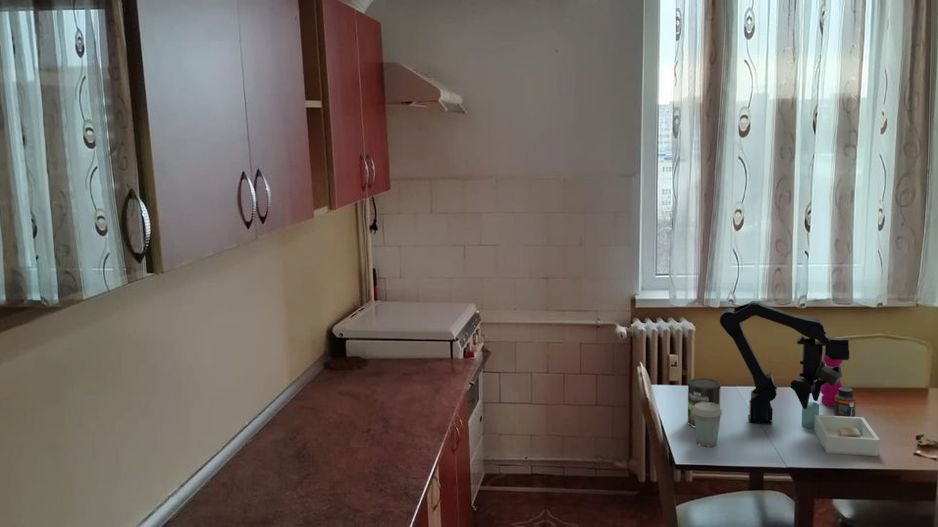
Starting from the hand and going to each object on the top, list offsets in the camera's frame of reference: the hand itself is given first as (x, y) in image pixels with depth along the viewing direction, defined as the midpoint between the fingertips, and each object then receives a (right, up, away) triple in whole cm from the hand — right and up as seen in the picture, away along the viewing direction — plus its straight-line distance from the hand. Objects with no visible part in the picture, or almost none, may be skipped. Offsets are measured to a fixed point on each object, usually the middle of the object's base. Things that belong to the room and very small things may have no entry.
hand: (810, 404), depth 237 cm
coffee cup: (-36, -10, -10) cm, 39 cm away
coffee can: (-33, -8, +6) cm, 34 cm away
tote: (+4, -9, -13) cm, 17 cm away
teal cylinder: (0, -7, +1) cm, 7 cm away
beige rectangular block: (+3, -9, -18) cm, 20 cm away
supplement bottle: (+12, -6, +2) cm, 14 cm away
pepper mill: (+17, -3, +20) cm, 27 cm away
